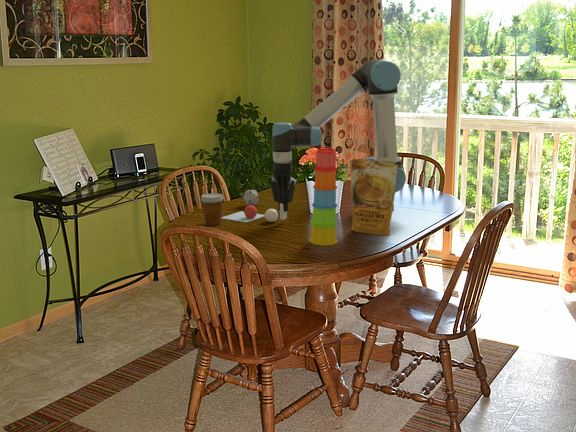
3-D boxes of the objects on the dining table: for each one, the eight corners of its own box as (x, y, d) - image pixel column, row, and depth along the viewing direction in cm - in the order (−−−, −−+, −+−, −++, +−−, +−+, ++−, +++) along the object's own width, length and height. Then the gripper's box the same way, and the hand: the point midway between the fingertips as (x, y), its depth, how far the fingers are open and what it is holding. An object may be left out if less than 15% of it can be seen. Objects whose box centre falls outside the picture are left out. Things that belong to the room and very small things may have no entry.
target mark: (266, 215, 304) (266, 215, 304) (246, 222, 293) (246, 222, 293) (241, 211, 312) (241, 211, 312) (220, 218, 301) (220, 217, 301)
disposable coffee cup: (203, 227, 286) (202, 198, 283) (200, 222, 295) (198, 193, 292) (226, 225, 288) (225, 196, 285) (222, 220, 297) (221, 192, 294)
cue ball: (270, 205, 295) (268, 216, 297) (263, 208, 290) (260, 220, 292) (281, 210, 292) (278, 222, 295) (274, 214, 288) (271, 225, 290)
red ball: (255, 201, 300) (247, 208, 304) (247, 204, 296) (239, 210, 299) (261, 213, 299) (253, 219, 303) (253, 215, 295) (245, 221, 298)
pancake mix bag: (353, 227, 282) (353, 157, 276) (398, 233, 273) (399, 161, 266) (345, 231, 277) (345, 160, 270) (390, 237, 267) (392, 163, 260)
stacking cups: (335, 238, 267) (335, 146, 259) (338, 245, 257) (338, 150, 249) (308, 238, 267) (307, 147, 259) (310, 246, 257) (309, 151, 249)
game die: (254, 213, 324) (266, 195, 325) (252, 211, 316) (264, 192, 317) (238, 203, 326) (250, 184, 326) (235, 200, 317) (247, 181, 318)
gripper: (263, 161, 285) (265, 218, 291) (290, 164, 278) (291, 222, 283) (274, 159, 291) (276, 215, 296) (301, 161, 283) (301, 219, 289)
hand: (283, 218), depth 290 cm, fingers closed
